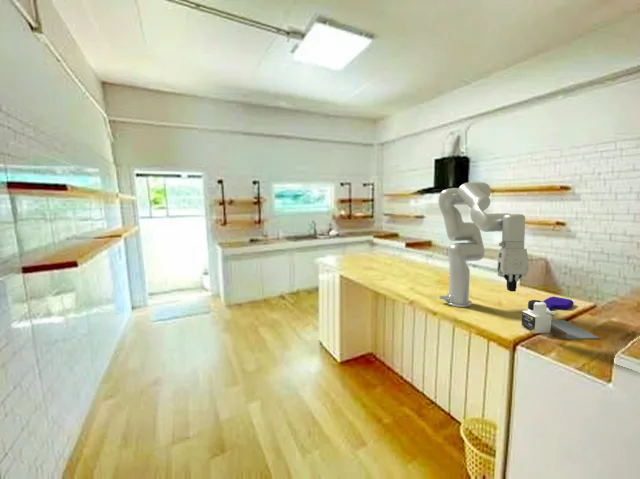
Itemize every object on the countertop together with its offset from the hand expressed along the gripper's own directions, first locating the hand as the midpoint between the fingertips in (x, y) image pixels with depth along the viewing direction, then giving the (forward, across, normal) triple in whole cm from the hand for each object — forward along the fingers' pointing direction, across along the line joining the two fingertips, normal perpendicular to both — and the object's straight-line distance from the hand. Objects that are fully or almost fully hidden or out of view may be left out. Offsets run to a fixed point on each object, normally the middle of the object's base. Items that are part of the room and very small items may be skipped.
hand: (511, 290), depth 124 cm
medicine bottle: (+17, +11, +1) cm, 20 cm away
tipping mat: (+17, +22, +1) cm, 28 cm away
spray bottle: (+17, +36, +26) cm, 48 cm away
